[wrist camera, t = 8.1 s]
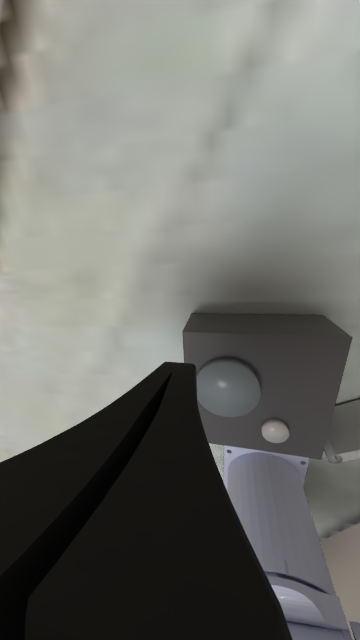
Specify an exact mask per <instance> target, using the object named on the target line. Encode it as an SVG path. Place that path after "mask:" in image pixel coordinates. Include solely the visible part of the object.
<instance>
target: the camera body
mask: <svg viewBox="0 0 360 640" xmlns="http://www.w3.org/2000/svg"><path fill="white" fill-rule="evenodd" d="M351 340H352V337H351V336H350V335H348V334H347V333H346V332H344V331H343V330H342V329H340V328H339V327H338V326H336V325H335V324H334V323H332V322H331V321H330V320H329V319H327V318H326V317H325V316H323V315H284V314H205V313H192V314H191V316H190V318H189V320H188V322H187V324H186V326H185V328H184V330H183V348H184V363H191V364H194V365H195V366H196V379H197V404H198V409H199V413H200V417H201V421H202V424H203V428H204V431H205V434H206V437H207V440H208V443H212V444H219V445H226V446H232V447H239V448H246V449H253V450H259V451H266V452H273V453H280V454H286V455H293V456H300V457H307V458H313V459H320V460H321V459H322V455H323V451H324V447H325V443H326V439H327V435H328V431H329V427H330V423H331V419H332V415H333V411H334V407H335V403H336V399H337V395H338V392H339V388H340V384H341V380H342V376H343V372H344V368H345V364H346V360H347V356H348V352H349V348H350V344H351Z"/></svg>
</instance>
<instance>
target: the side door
mask: <svg viewBox="0 0 360 640" xmlns="http://www.w3.org/2000/svg"><path fill="white" fill-rule="evenodd" d="M324 452H325V454H326V456H327V458H328V460H329V462H331V463H334V464H338V463H341V462H346V461H351V460H356V459H360V399H359V400H356V401H352V402H349V403H345V404H341V405H338V406H335V407H334V411H333V415H332V419H331V423H330V427H329V431H328V435H327V439H326V443H325V447H324Z"/></svg>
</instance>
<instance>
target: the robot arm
mask: <svg viewBox="0 0 360 640" xmlns="http://www.w3.org/2000/svg"><path fill="white" fill-rule="evenodd" d="M308 464H309V458H307V457H300V456H293V455H286V454H280V453H273V452H266V451H259V450H253V449H246V448H239V447H232V446H226V445H224V481H223V480H222V478H221V475H220V473H219V470H218V468H217V465H216V463H215V460H214V457H213V455H212V452H211V449H210V446H209V443H208V440H207V437H206V434H205V431H204V428H203V424H202V421H201V417H200V413H199V409H198V404H197V379H196V366H195V365H194V364H191V363H176V362H164V363H163V364H162V365H161V366H159V367H158V368H157V369H156V370H155V371H153V372H152V373H151V374H150V375H148V376H147V377H146V378H145V379H143V380H142V381H141V382H140V383H138V384H137V385H136V386H135V387H133V388H132V389H131V390H129V391H128V392H127V393H125V394H124V395H122V396H121V397H120V398H118V399H117V400H115V401H114V402H113V403H111V404H110V405H108V406H107V407H105V408H104V409H102V410H101V411H99V412H98V413H96V414H94V415H93V416H91V417H89V418H88V419H86V420H84V421H83V422H81V423H79V424H77V425H76V426H74V427H72V428H70V429H68V430H66V431H64V432H62V433H61V434H59V435H57V436H55V437H53V438H51V439H49V440H47V441H45V442H43V443H42V444H40V445H37V446H35V447H33V448H31V449H29V450H27V451H25V452H23V453H21V454H18V455H16V456H14V457H12V458H10V459H7V460H5V461H3V462H1V463H0V640H352V637H351V634H350V631H349V628H348V625H347V622H346V619H345V615H344V612H343V609H342V606H341V603H340V599H339V597H338V596H337V595H336V592H335V589H334V586H333V583H332V580H331V576H330V573H329V570H328V567H327V564H326V560H325V557H324V554H323V551H322V548H321V544H320V541H319V538H318V534H317V531H316V528H315V525H314V522H313V518H312V515H311V512H310V509H309V505H308V502H307V499H306V496H305V493H304V489H303V486H304V481H305V477H306V472H307V468H308ZM350 625H351V629H352V632H353V635H354V638H355V640H360V623H359V622H353V621H350Z"/></svg>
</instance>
